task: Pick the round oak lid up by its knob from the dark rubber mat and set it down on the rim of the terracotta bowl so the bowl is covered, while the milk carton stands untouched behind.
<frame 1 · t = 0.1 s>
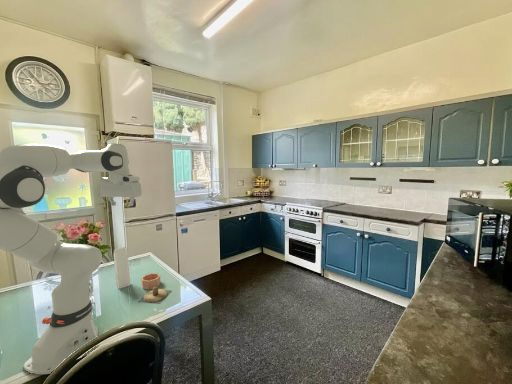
hand: (122, 205, 117), 48 cm above the table, fingers open, 8 cm apart
lid: (155, 292, 122), on the mat
bowl: (151, 285, 133), on the table
mat: (155, 296, 122), on the table
milk: (123, 285, 134), on the table
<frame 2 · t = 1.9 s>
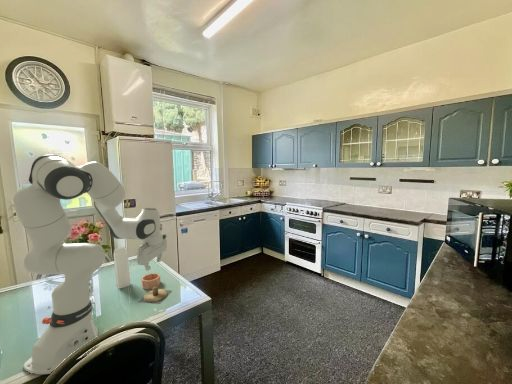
hand: (153, 265, 120), 17 cm above the table, fingers open, 8 cm apart
nothing on the table moved.
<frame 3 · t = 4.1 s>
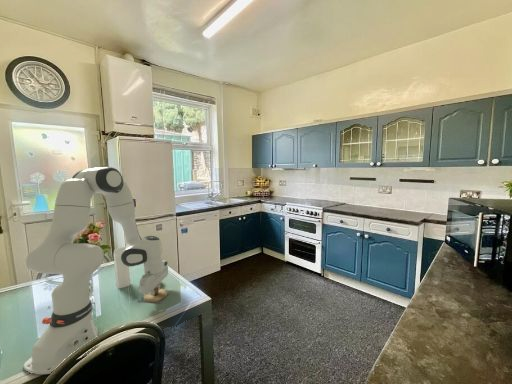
hand: (155, 292, 122), 2 cm above the table, fingers closed on lid, 3 cm apart
lid: (155, 292, 122), on the mat, touching gripper
everything else where it was.
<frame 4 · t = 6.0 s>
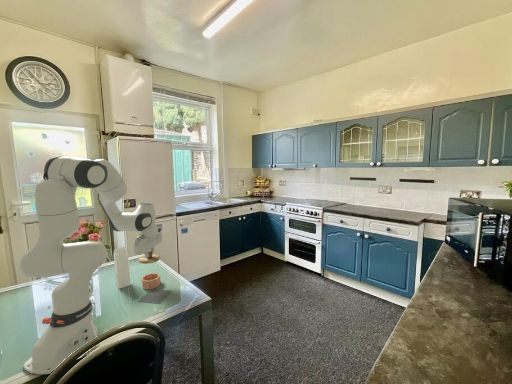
hand: (149, 256, 131), 17 cm above the table, fingers closed on lid, 3 cm apart
lid: (149, 255, 131), point 18 cm above the table, touching gripper
everything else where it was.
when the fingers open (8 cm above the table, at t = 7.9 s): lid stays where it is, resting on bowl.
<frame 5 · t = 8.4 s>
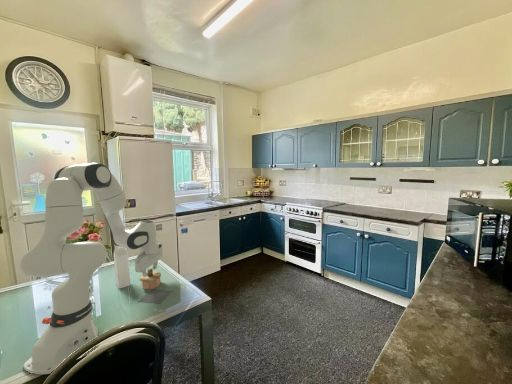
hand: (150, 272, 132), 8 cm above the table, fingers open, 7 cm apart
lid: (150, 273, 132), on the bowl, point 7 cm above the table
everything else where it was.
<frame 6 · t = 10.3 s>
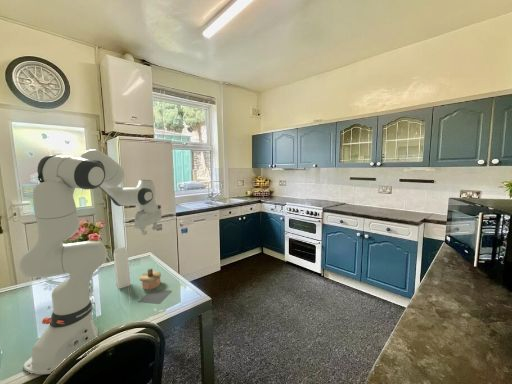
hand: (149, 231, 135), 29 cm above the table, fingers open, 8 cm apart
nothing on the table moved.
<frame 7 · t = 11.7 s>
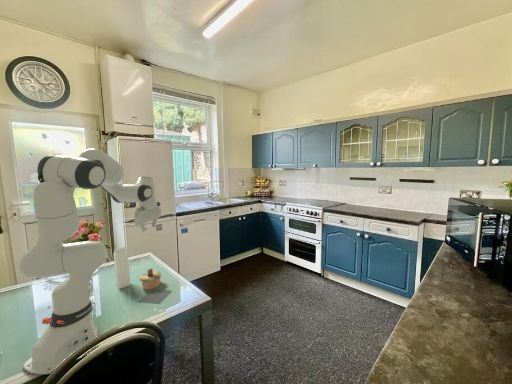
hand: (149, 228, 135), 31 cm above the table, fingers open, 8 cm apart
nothing on the table moved.
at the end: lid 0.1 cm off-centre on the bowl, point 7.2 cm above the bowl's base; lid tilted 0°; the gripper is holding nothing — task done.
